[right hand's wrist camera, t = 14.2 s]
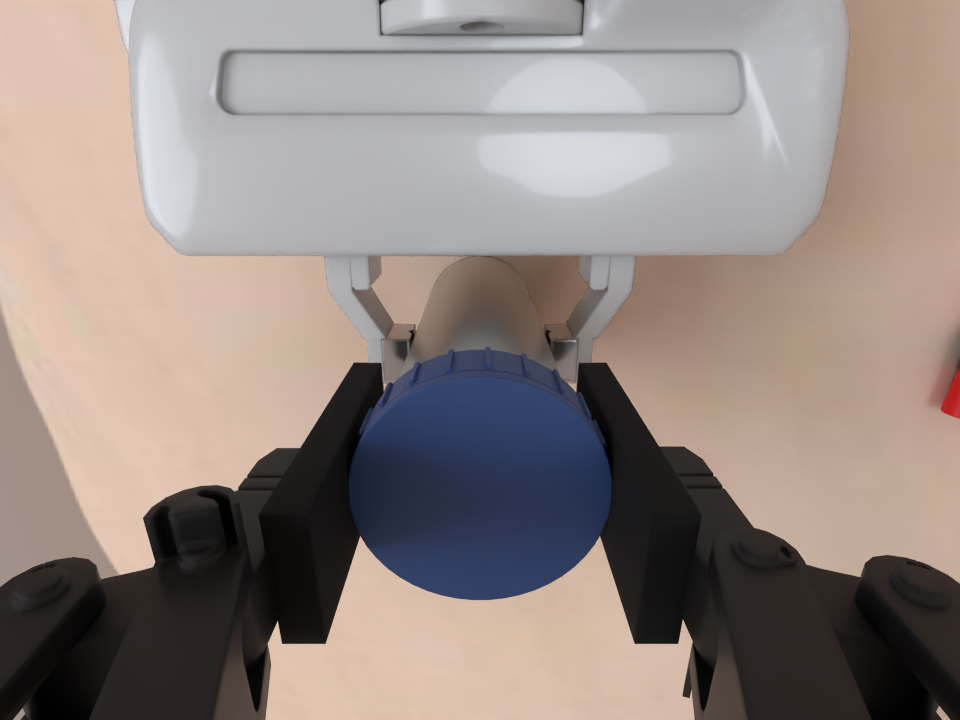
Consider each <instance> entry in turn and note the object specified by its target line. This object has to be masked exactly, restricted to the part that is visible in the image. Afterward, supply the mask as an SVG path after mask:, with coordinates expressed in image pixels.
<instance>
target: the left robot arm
mask: <svg viewBox="0 0 960 720" xmlns="http://www.w3.org/2000/svg"><path fill="white" fill-rule="evenodd" d="M114 3H115V8H116V13H117V18H118V22H119V27H120V32H121V36H122V40H123V43H124V46H125V48H126V51H127V53H128V55H129V80H130V99H131V114H132V125H133V134H134V144H135V153H136V161H137V168H138V176H139V182H140V188H141V195H142V200H143V205H144V209H145V213H146V216H147V219H148V221H149V223H150V225H151V226H152V227H153V228H154V229H155V230H156V231H157V232H158V233H159V234H160V235H161V236H162V237H163V239H164V240H165V241H166V242H167V243H168V244H169V245H170V246H171V247H172V248H173V249H174V250H175V251H177V252H178V253H180V254H181V255H185V256H324V257H325V267H326V276H327V285H328V291H329V293H330V294H331V295H332V297H333V298H334V299H335V301H336V302H337V304H338V305H339V306H340V308H341V309H342V310H343V312H344V313H345V315H346V316H347V317H348V319H349V320H350V321H351V323H352V324H353V326H354V327H355V328H356V330H357V331H358V332H359V334H360V335H361V337H362V338H363V339H367V347H368V359H369V363H382V375H383V383H385V384H386V383H389V382H391V383H394V382H395V381H396V380H397V379H398V378H399V377H400V374H401V371H402V369H403V366H404V363H405V361H406V358H407V355H408V353H409V350H410V347H411V345H412V342H413V339H414V337H415V334H416V325H415V324H393V323H394V322H393V321H392V319H391V318H390V316H389V314H388V313H387V311H386V310H385V308H384V306H383V305H382V303H381V302H380V300H379V299H378V297H377V295H376V294H375V292H374V291H373V289H372V287H371V285H372V284H373V283H374V282H375V281H376V279H377V278H378V277H379V276H380V275H381V274H382V273H381V256H579V275H580V276H581V277H582V278H583V279H584V280H585V282H586V283H587V284H588V285H589V287H588V289H587V290H586V292H585V294H584V295H583V297H582V298H581V300H580V302H579V303H578V305H577V306H576V308H575V309H574V311H573V313H572V314H571V316H570V317H569V319H568V320H567V322H566V323H567V324H545V326H544V334H545V336H546V339H547V342H548V344H549V347H550V349H551V352H552V355H553V357H554V360H555V363H556V365H557V368H558V371H559V373H560V376H561V378H562V379H563V380H564V381H565V382H566V383H577V379H578V366H579V363H591V360H592V348H593V339H597V338H598V337H599V335H600V334H601V332H602V331H603V330H604V328H605V327H606V326H607V324H608V323H609V322H610V320H611V319H612V317H613V316H614V315H615V313H616V312H617V311H618V309H619V308H620V306H621V305H622V304H623V302H624V301H625V300H626V298H627V297H628V296H629V294H630V293H631V291H632V285H633V276H634V267H635V258H636V256H777V255H782V254H784V253H785V252H787V251H788V250H789V249H790V248H791V247H792V246H793V245H794V244H795V243H796V242H797V241H798V240H799V239H800V238H801V237H802V236H803V235H804V234H805V233H806V232H807V231H808V230H809V229H810V227H811V226H812V225H813V224H814V223H815V221H816V220H817V218H818V216H819V213H820V211H821V208H822V205H823V201H824V197H825V194H826V190H827V186H828V181H829V177H830V172H831V167H832V162H833V158H834V152H835V147H836V141H837V136H838V130H839V124H840V117H841V111H842V104H843V98H844V90H845V81H846V73H847V63H848V52H849V21H848V13H847V8H846V4H845V0H114Z"/></svg>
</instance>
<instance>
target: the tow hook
mask: <svg viewBox="0 0 960 720" xmlns="http://www.w3.org/2000/svg"><path fill="white" fill-rule="evenodd" d="M956 367H957V369H958V370H957V373H956V375H955V377H954V379H953V382H952V384H951V386H950V388H949V391H948V393H947V395H946V397H945V400H944V402H943V404H942V406H941V408H940V409H941V411H942V412H944V413H946V414H948V415H951V416H953V417H956V418H960V359H959V361H958V363H957V366H956Z"/></svg>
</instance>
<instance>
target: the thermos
mask: <svg viewBox="0 0 960 720" xmlns="http://www.w3.org/2000/svg"><path fill="white" fill-rule="evenodd" d="M485 347H490V348H491V350H495V351H504V352H508V353H512V354H516V355H520V356H521V355H522V353H524V354H526V355H527V358H528V359H531V360H533V361H536V362H537V363H539V364H541V365H543V366H545V367H547V368H548V369H550V370H551V371H553V370H554V369H556V370H557V371H558V368H557V365H556V363H555V360H554V357H553V355H552V352H551V349H550V347H549V344H548V342H547V339H546V336H545V334H544V331H543V328H542V326H541V323H540V320H539V318H538V315H537V312H536V310H535V307H534V305H533V302H532V299H531V297H530V294H529V291H528V289H527V286H526V284H525V282H524V280H523V279H522V277H521V276H520V275H519V273H518V272H517V271H516V270H515V269H514V268H512V267H511V266H510V265H508V264H507V263H505V262H503V261H501V260H499V259H496V258H492V257H487V256H473V257H468V258H464V259H461V260H459V261H457V262H455V263H453V264H452V265H450V266H449V267H448V268H446V269H445V270H444V271H443V272H442V273H441V275H440V276H439V277H438V279H437V280H436V282H435V284H434V286H433V289H432V292H431V294H430V297H429V299H428V302H427V305H426V307H425V310H424V313H423V315H422V318H421V321H420V323H419V326H418V329H417V331H416V334H415V337H414V339H413V342H412V345H411V347H410V350H409V353H408V355H407V358H406V361H405V363H404V366H403V369H402V371H401V374H400V377H401V376H402V375H403V374H405V373H406V372H407V371H409V370H410V369H412V368H413V366H414V363H416V362H418V361H419V363H420V364H421V363H423V362H425V361H427V360H430V359H432V358H435V357H437V356H441V355H444V354H448V350H452V349H453V351H454V352H457V351H465V350H485ZM558 372H559V371H558ZM559 375H560V373H559ZM560 377H561V376H560Z"/></svg>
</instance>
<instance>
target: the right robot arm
mask: <svg viewBox="0 0 960 720" xmlns="http://www.w3.org/2000/svg"><path fill="white" fill-rule="evenodd" d="M578 392H580V393H581V394H582V396H583V398H584V400H585V403H586V405H587V407H588V409H589V412H590V414H591V416H592V417H591V419H592V421H593V420H596V422H597V424H598V426H599V429H600V431H601V433H602V435H603V437H604V440H605V442H606V444H607V447H606V448H604V449H605V452H606V455H607V457H608V460H609V464H610V468H611V473H612V492H611V501H610V509H609V515H608V519H607V521H606V524H605V526H604V528H603V531H602V533H601V535H600V537H601V540H602V543H603V546H604V549H605V552H606V556H607V559H608V562H609V565H610V568H611V571H612V574H613V577H614V580H615V584H616V587H617V590H618V593H619V596H620V599H621V602H622V605H623V608H624V612H625V615H626V618H627V621H628V624H629V627H630V630H631V633H632V637H633V640H634V643H635V644H678V642H679V636H680V631H681V625H682V620H684V622H685V625H686V627H687V629H688V631H689V634H690V636H691V638H692V640H693V643H692V648H691V653H690V659H689V664H688V669H687V674H686V679H685V684H684V690H683V697H687V698H690V693H691V689H692V697H693V706H694V716H695V720H942V719H941V718H940V717H939V715H938V714H937V713H936V711H937V709H938V706H940V707H941V708H942V710H943V711H944V712H945V713H946V715H947V716H948V717H949V718H950V719H951V720H960V584H959V583H958V582H957V581H955V580H954V579H953V578H951V577H950V576H949V575H947V574H945V573H943V572H941V571H939V570H937V569H935V568H933V567H931V566H929V565H927V564H924V563H922V562H918V561H916V560H912V559H908V558H904V557H897V556H890V555H884V556H876V557H872V558H871V559H870V560H869V561H867V562H866V563H865V565H864V568H863V571H862V574H861V577H856V576H852V575H847V574H843V573H838V572H833V571H829V570H824V569H820V568H816V567H813V566H809V565H806V563H805V561H804V560H803V558H802V557H801V556H800V554H799V553H798V551H797V550H796V549H795V548H793V547H792V546H791V545H790V544H788V543H787V542H786V541H785V540H783V539H781V538H779V537H777V536H775V535H773V534H771V533H769V532H767V531H763V530H760V529H756V528H754V527H753V526H752V525H751V523H750V522H749V521H748V519H747V518H746V517H745V515H744V514H743V513H742V511H741V510H740V509H739V507H738V506H737V505H736V503H735V502H734V501H733V499H732V498H731V497H730V495H729V494H728V493H727V491H726V490H725V489H722V485H721V483H720V482H719V481H718V479H717V478H716V477H714V476H713V473H712V471H711V470H710V469H709V467H708V466H707V465H706V463H705V462H704V461H703V459H701V458H700V457H698V456H697V455H695V454H694V453H692V452H691V451H689V450H688V449H686V448H685V447H659V446H658V444H657V443H656V441H655V439H654V438H653V436H652V435H651V433H650V431H649V430H648V428H647V427H646V425H645V424H644V422H643V420H642V419H641V417H640V416H639V414H638V412H637V411H636V409H635V408H634V406H633V404H632V403H631V401H630V400H629V398H628V397H627V395H626V393H625V392H624V390H623V389H622V387H621V385H620V384H619V382H618V381H617V379H616V377H615V376H614V374H613V373H612V371H611V369H610V368H609V366H608V365H607V363H579V366H578V379H577V393H578ZM383 393H384V389H383V375H382V363H354V364H353V365H352V367H351V368H350V370H349V372H348V373H347V375H346V376H345V378H344V380H343V381H342V383H341V384H340V386H339V387H338V389H337V391H336V392H335V394H334V395H333V397H332V399H331V400H330V402H329V403H328V405H327V407H326V408H325V410H324V411H323V413H322V414H321V416H320V418H319V419H318V421H317V422H316V424H315V426H314V427H313V429H312V430H311V432H310V434H309V435H308V437H307V438H306V440H305V442H304V443H303V445H302V446H301V448H276V449H275V450H274V451H272V452H271V453H269V454H268V455H266V456H265V457H263V458H262V459H260V460H259V461H258V462H257V463H256V465H255V466H254V467H253V469H252V470H251V471H250V473H249V474H248V475H247V476H248V477H247V478H245V479H244V481H243V482H242V483H241V485H240V486H239V487H238V491H235V492H234V491H233V490H232V489H231V488H227V487H223V486H218V485H213V486H199V487H195V488H191V489H187V490H183V491H181V492H178V493H176V494H173V495H171V496H169V497H166V498H165V499H163V500H162V501H160V502H159V503H157V504H156V505H155V506H153V507H152V508H151V509H150V510H149V511H148V513H147V514H146V515H145V516H144V517H143V520H144V523H145V527H146V530H147V534H148V537H149V541H150V544H151V548H152V552H153V555H154V559H155V564H154V567H152V568H149V569H145V570H141V571H137V572H132V573H128V574H123V575H119V576H114V577H110V578H105V579H101V578H100V575H99V572H98V570H97V567H96V565H95V564H94V563H92V562H91V561H90V560H89V559H83V558H76V557H72V558H65V559H58V560H53V561H50V562H46V563H44V564H40V565H38V566H35V567H33V568H31V569H29V570H27V571H25V572H23V573H21V574H19V575H17V576H15V577H13V578H12V579H10V580H9V581H8V582H7V583H5V584H4V585H2V586H1V587H0V720H13V719H14V718H15V716H16V715H17V714H18V713H19V711H20V710H21V709H22V708H23V710H24V712H25V715H24V716H23V718H22V719H21V720H265V717H266V708H267V698H268V689H269V679H270V670H271V661H270V654H269V648H268V642H269V639H270V637H271V635H272V632H273V630H274V628H275V626H276V623H277V621H278V624H279V629H280V634H281V640H282V644H326V641H327V637H328V634H329V631H330V628H331V625H332V622H333V619H334V616H335V613H336V609H337V606H338V603H339V600H340V597H341V594H342V591H343V588H344V585H345V581H346V578H347V575H348V572H349V569H350V566H351V563H352V560H353V556H354V553H355V550H356V547H357V544H358V541H359V538H360V534H359V532H358V530H357V528H356V525H355V523H354V521H353V517H352V514H351V508H350V498H349V488H348V475H349V470H350V465H351V461H352V458H353V456H354V453H355V450H356V448H357V445H358V443H359V441H360V438H361V435H359V434H358V433H359V431H360V429H361V426H362V424H363V422H364V420H365V417H366V415H367V413H368V411H369V409H370V408H372V409H374V408H375V406H376V404H377V402H378V401H379V399H380V398H381V397H382V395H383ZM577 393H576V394H577Z"/></svg>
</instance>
